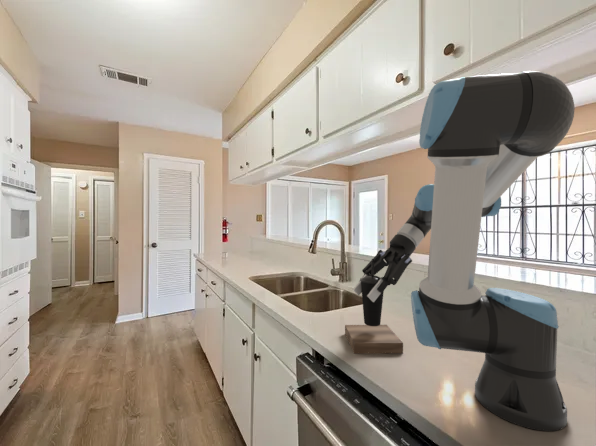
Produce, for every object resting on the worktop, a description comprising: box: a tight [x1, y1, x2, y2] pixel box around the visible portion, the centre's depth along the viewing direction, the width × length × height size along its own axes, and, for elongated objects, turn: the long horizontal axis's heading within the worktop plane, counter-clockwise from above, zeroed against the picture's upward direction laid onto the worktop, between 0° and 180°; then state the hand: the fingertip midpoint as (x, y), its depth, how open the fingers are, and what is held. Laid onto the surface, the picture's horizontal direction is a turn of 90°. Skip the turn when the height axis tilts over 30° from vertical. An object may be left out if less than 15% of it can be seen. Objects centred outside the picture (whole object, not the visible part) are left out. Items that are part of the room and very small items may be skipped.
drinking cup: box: [359, 258, 385, 326], centre depth 90 cm, size 8×8×20 cm
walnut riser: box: [344, 324, 404, 355], centre depth 90 cm, size 14×14×3 cm
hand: (362, 295), depth 88 cm, fingers closed on drinking cup, 7 cm apart
